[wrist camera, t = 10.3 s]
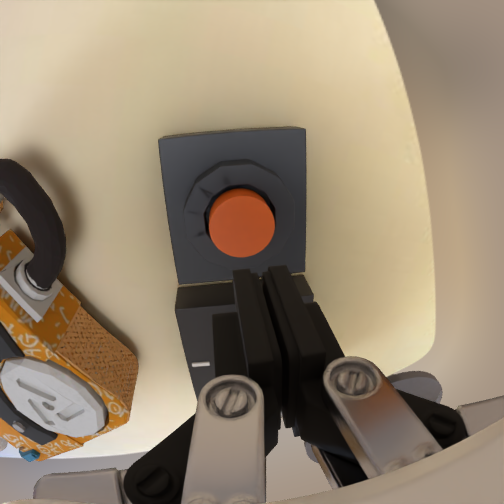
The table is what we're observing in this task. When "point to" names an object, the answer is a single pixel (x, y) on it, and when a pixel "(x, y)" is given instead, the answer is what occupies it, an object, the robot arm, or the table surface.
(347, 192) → the table surface
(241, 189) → the power button
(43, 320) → the device
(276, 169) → the button block
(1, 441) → the garlic
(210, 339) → the timer panel
